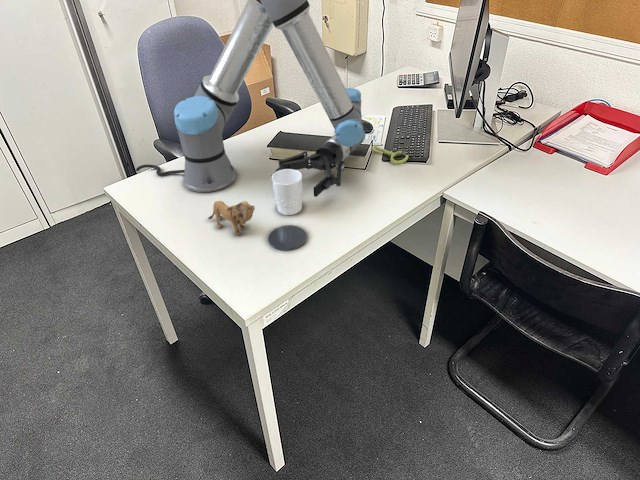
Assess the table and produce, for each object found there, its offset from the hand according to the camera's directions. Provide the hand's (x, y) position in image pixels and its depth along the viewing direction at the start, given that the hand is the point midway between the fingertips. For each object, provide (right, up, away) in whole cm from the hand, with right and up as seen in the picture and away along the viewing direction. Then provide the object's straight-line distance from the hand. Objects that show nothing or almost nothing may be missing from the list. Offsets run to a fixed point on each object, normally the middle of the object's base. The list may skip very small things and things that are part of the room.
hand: (293, 185), depth 114 cm
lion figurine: (-15, -11, -3) cm, 19 cm away
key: (+30, +12, +23) cm, 40 cm away
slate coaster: (-1, -14, -8) cm, 16 cm away
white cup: (-1, -6, +2) cm, 7 cm away
